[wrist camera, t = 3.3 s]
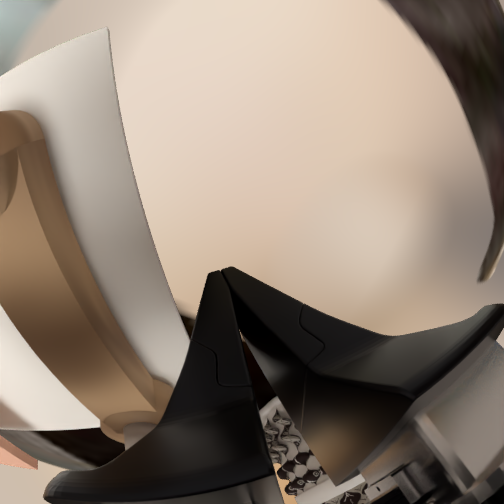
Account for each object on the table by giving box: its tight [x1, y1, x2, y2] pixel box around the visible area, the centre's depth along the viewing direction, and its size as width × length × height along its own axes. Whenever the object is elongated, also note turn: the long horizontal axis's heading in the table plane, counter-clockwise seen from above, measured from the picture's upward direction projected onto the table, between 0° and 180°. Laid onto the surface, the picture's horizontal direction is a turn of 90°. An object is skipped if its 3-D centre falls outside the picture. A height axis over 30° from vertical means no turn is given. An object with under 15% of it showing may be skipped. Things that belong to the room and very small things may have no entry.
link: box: [0, 110, 174, 450], centre depth 8 cm, size 17×4×3 cm, turn 7°
